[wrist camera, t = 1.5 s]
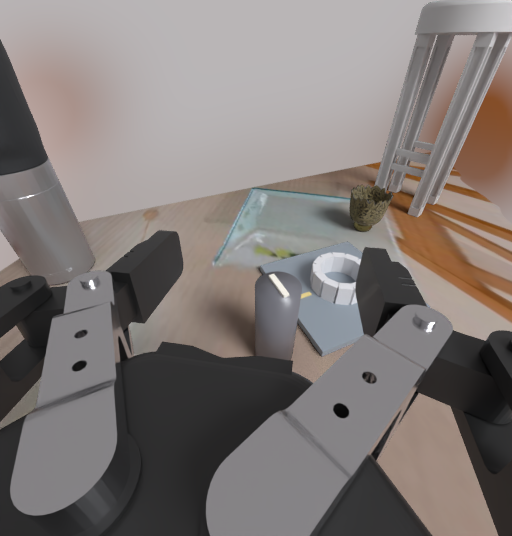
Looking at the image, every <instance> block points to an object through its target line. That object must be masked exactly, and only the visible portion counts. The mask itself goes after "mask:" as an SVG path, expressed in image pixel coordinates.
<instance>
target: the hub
mask: <svg viewBox="0 0 512 536" xmlns="http://www.w3.org/2000/svg"><path fill="white" fill-rule="evenodd" d="M362 254H363V253H362V252H361V251H359V250H358V249H357V248H355V247H354V246H353V245H352V244H350V243H349V242H344V243H341V244H337V245H333V246H330V247H326V248H323V249H319V250H315V251H312V252H308V253H304V254H301V255H297V256H293V257H290V258H286V259H283V260H279V261H275V262H272V263H268V264H264V265H261V266H260V271H261V272H262V274H263V275H264V274H266V273H269V272H275V271H280V272H286V273H289V274H291V275H293V276H295V277H296V278H297V279H298V280H299V281H300V283H301V285H302V294H301V300H300V307H299V314H298V320H297V323H298V324H299V326H300V327H301V328H302V330H303V331H304V333H305V334H306V335H307V337H308V338H309V340H310V341H311V342H312V344H313V345H314V347H315V348H316V349H317V351H318V352H319V354H320V355H321V357H322V356H325V355H327V354H329V353H332V352H334V351H336V350H339V349H341V348H343V347H346V346H348V345H350V344H353V343H355V342H357V341H358V340H359V339H360V338H361V337H362V336H363V335H364V333H363V328H362V323H361V318H360V314H359V309H358V304H357V299H356V293H355V286H356V279H357V275H358V271H359V266H360V262H361V258H362ZM426 305H427V304H426ZM427 307H429V308H430V306H429V305H427Z"/></svg>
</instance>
